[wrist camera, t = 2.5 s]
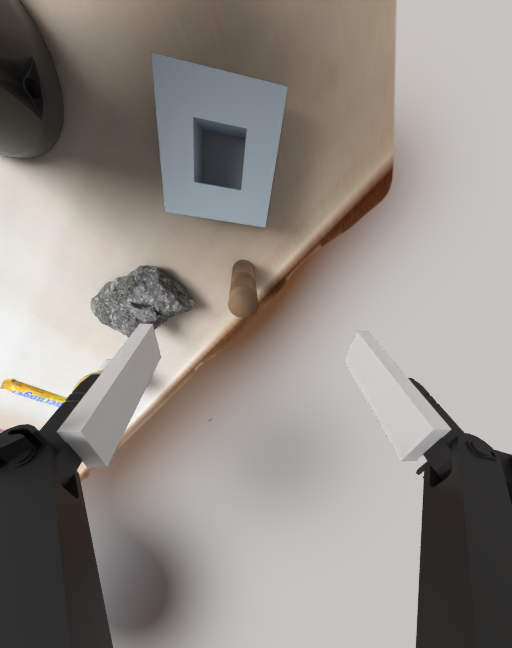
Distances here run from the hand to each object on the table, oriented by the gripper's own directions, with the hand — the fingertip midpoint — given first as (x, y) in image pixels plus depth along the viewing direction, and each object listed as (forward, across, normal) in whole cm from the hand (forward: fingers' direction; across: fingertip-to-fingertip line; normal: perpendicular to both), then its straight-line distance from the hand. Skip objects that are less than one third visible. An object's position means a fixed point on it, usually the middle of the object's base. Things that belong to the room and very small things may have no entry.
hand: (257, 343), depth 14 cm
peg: (+23, -1, -3) cm, 23 cm away
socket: (+23, -4, +11) cm, 26 cm away
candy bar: (+24, -47, -37) cm, 65 cm away
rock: (+24, -17, -9) cm, 30 cm away
